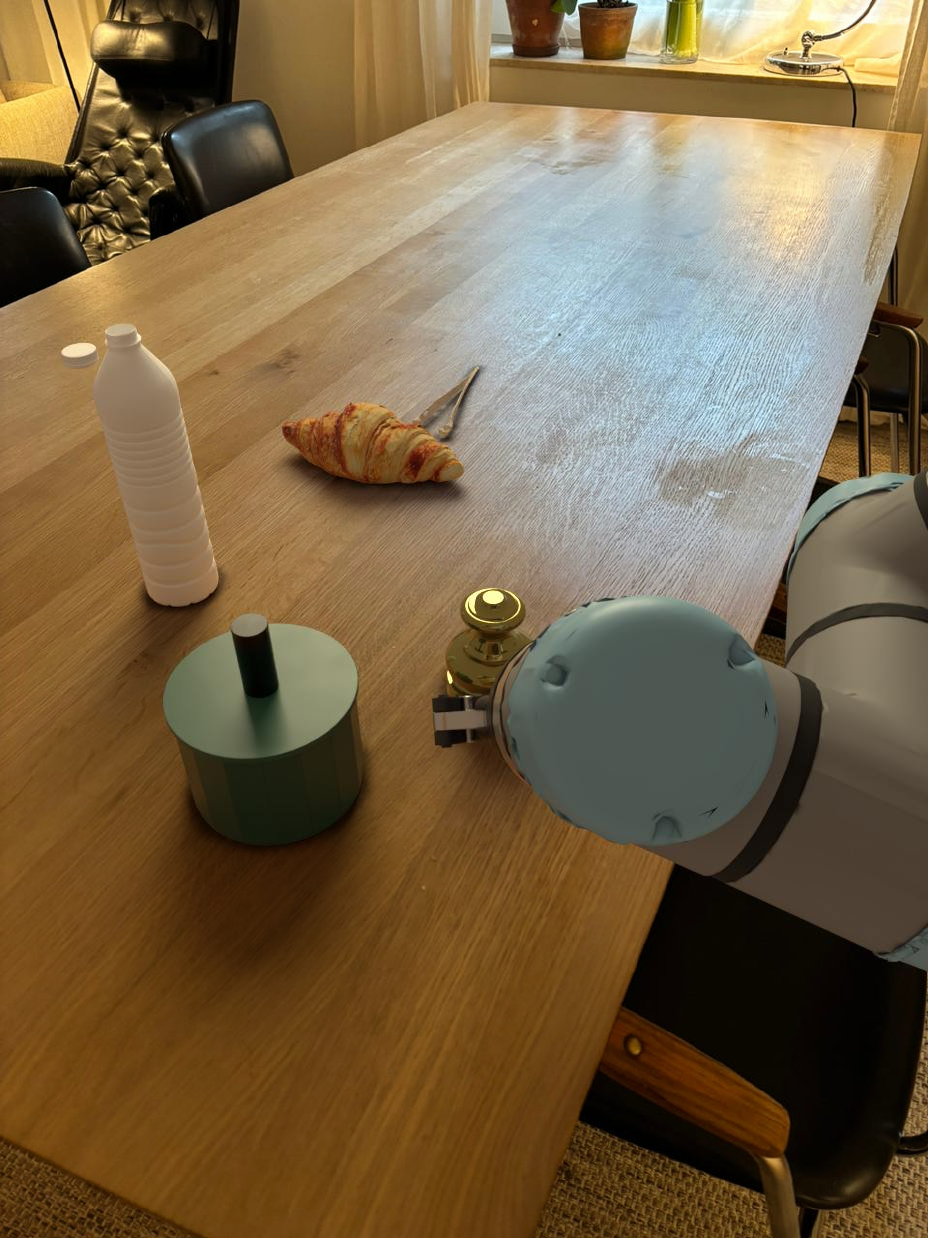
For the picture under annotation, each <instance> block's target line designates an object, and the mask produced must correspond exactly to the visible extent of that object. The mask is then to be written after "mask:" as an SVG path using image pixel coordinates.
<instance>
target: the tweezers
mask: <svg viewBox="0 0 928 1238" xmlns="http://www.w3.org/2000/svg"><path fill="white" fill-rule="evenodd" d="M479 369H480V366H476V367H475V368H474V369H472V371H471V372H470V373H469V374H468V375H467V376H466V377H465V378H463V379H462V380H461V381H459V382H458V383H457V384H456V385H454V386H453V387H452V388H450V389H449V390H448V391H446V392H445V393H444V394H442V395H441V396H439V397H438V398H436V399H435V400H433V401H432V402H431V403H430V404H429V405H428V406H426V408H425V409H424V410H422V412H420V414H419V415H417V416H416V417H415V418H414V419H413V420H412V424H422V425H423V424H424V423H425V422H426V421H427V420H428V419H429V418H431V417H433V415H434V414H436V412H437V411H438V410H439V409H441V408H442V407H443V406H444V405H445V404H447V403H448V402H450V401H451V400H452V399H454V398H455V397H456V396H457V395H458V394H459V397H458V399H457V401H456V404H455V405H454V407H453V409H452V411H451V413H450V417H449V421H448V423H446V424H444V426H443V427H439V428H437V431H438V433H439V434H438V435H439V438H441V439H444V438H446V436H448V434H449V433H450V432H451V431H452V429H453V427H454V423H453V422H454V419H455V416H456V413H457V410H458V408H459V406H460V404H461V401H462V399H463V397H464V394H465V393H466V391H467V388H468V387H469V385H470V383H472V380H473V378H474V377H475V375H476V373H477V372H478V370H479ZM426 412H427V413H426ZM425 413H426V414H425ZM424 414H425V415H424Z"/></svg>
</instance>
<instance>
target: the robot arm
mask: <svg viewBox="0 0 928 1238" xmlns="http://www.w3.org/2000/svg"><path fill="white" fill-rule="evenodd" d="M785 583H786V584H785V585H786V602H787V610H786V627H785V629H786V630H785V645H784V646H785V647H784V664H783V666H780V665H778V664H775V663H773V662H771V661H769V660H767V659H764V658H762V657H760V656H758V655H757V654H756V652H755V650H754V649H753V648H752V646H751V645H750V644H749V642H748V641H747V640H746V639H745V638H744V637H743V635H742V634H741V633H740V632H739V631H738V630H737V628H735V627H734V626H733V625H731V624H730V623H729V622H728V621H726V620H725V619H724V618H723V617H721V616H719V615H718V614H716V613H715V612H713V611H711V610H710V609H708V608H705V607H703V606H701V605H699V604H696V603H694V602H691V601H688V600H686V599H685V600H684V599H681V598H677V597H672V596H665V595H657V594H656V595H655V594H641V595H640V594H639V595H632V596H627V595H624V596H620V597H615V598H613V597H603V598H600V599H599V598H598V599H596V600H592V601H589V602H587V603H584V604H582V605H579V607H577V608H573V609H572V610H571V611H567V612H566V613H565V614H564V615H563V616H561V617H560V618H558V619H556V620H555V621H553V622H551V623H550V624H549V625H548V626H546V627H545V629H543V631H541V632H540V634H539V635H538V636H537V637H536V638H535V639H533V641H531V642H530V643H528V644H527V645H525V646H523V647H522V648H521V649H519V650H518V651H517V652H515V653H514V654H513V655H512V656H511V657H510V658H509V659H508V660H507V661H506V663H505V664H504V665H503V667H502V668H501V669H500V671H499V673H498V674H497V676H496V678H495V680H494V683H493V685H492V688H491V691H490V693H481V695H479V696H458V697H449V696H448V694H447V693H446V694H438V696H437V697H432V698H431V706H432V723H433V736H434V737H433V738H434V746H436V747H437V746H440V747H441V749H451V748H452V747H453V746H454V745H461V744H473V743H476V742H480V741H488V742H489V741H491V742H492V744H493V746H494V748H495V750H496V753H497V754H498V756H499V757H500V759H501V760H502V762H503V763H504V764H505V766H506V767H507V768H508V769H509V770H510V771H511V772H512V773H513V774H514V775H515V776H516V777H518V778H519V779H520V780H521V781H522V782H523V783H524V784H525V785H526V786H527V787H529V788H530V789H531V790H532V791H534V793H535V794H536V797H538V798H540V799H541V800H542V801H544V803H546V805H547V806H549V808H550V811H552V813H553V814H555V815H556V816H557V817H559V818H560V819H561V820H563V821H564V822H566V823H567V824H569V825H571V826H573V827H574V828H577V829H581V830H587V831H588V832H591V833H592V834H595V835H597V836H598V837H600V838H602V839H603V840H605V841H607V842H610V843H613V844H616V845H620V846H621V845H622V846H627V845H630V844H632V845H634V846H636V847H638V848H641V849H643V850H645V851H647V852H650V853H651V854H654V855H656V856H658V857H661V858H663V859H664V860H667V861H669V862H673V863H674V864H677V865H678V866H681V867H683V868H685V869H687V870H690V871H692V872H695V873H697V874H699V875H702V876H704V877H711V878H713V879H715V880H718V881H720V882H722V883H723V884H725V885H728V886H730V887H732V888H734V889H736V890H738V891H741V892H743V893H745V894H748V895H749V896H751V897H754V898H756V899H758V900H760V901H763V902H764V903H767V904H769V905H770V906H771V905H772V906H773V907H776V908H777V909H780V910H782V911H784V912H787V913H788V914H790V915H793V916H795V917H798V918H800V919H802V920H804V921H806V922H808V923H810V924H812V925H814V926H817V927H819V928H821V929H823V930H826V931H827V932H830V933H832V934H834V935H836V936H838V937H840V938H843V939H845V940H847V941H849V942H852V943H854V944H856V945H858V946H860V947H863V948H865V949H867V950H869V951H871V952H872V954H873V956H876V957H877V958H881V959H883V960H887V962H891V963H893V962H895V963H896V962H897V963H898V962H901V963H904V964H907V965H909V966H913V967H915V968H918V969H921V970H923V971H925V972H928V466H926V468H924V469H923V470H921V471H920V472H919V473H917V474H915V475H911V474H905V473H898V472H879V473H878V472H877V473H875V474H873V475H868V476H862V477H858V478H854V479H847V480H845V481H843V482H840V483H838V484H837V485H834V486H833V487H832V488H829V489H828V490H827V491H826V492H824V493H823V494H822V495H820V496H819V497H818V499H816V500H815V502H813V503H812V505H811V506H810V507H809V509H808V510H807V511H806V512H805V514H804V516H803V518H802V520H801V522H800V525H799V527H798V530H797V533H796V537H795V544H794V549H793V552H792V553H791V556H790V559H789V562H788V565H787V573H786V582H785Z"/></svg>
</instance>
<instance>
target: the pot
mask: <svg viewBox="0 0 928 1238" xmlns="http://www.w3.org/2000/svg"><path fill="white" fill-rule="evenodd" d="M357 699H358V698H357ZM357 699H356V702H355V704H354V707H353V709H352V711H351V713H350V714H349V716H348V717H347V718H346V720H345V721H344V722H343V723H342V725H341V726H340V727H339V728H338V729H337V730H336V731H335V732H333V733H332V734H331V735H330V736H329V737H327V738H326V739H325V740H323V741H322V742H320V743H319V744H317V745H315V746H313V747H311V748H310V749H308V750H306V751H303V752H301V753H298V754H296V755H293V756H290V757H287V758H284V759H280V760H275V761H271V762H264V763H255V764H237V763H226V762H221V761H216V760H213V759H210V758H206V757H203V756H201V755H199V754H197V753H195V752H193V751H191V750H190V749H188V748H187V747H185V746H184V745H183V744H182V743H181V742H180V741H178V740H177V739H176V743H177V746H178V749H179V752H180V756H181V760H182V763H183V766H184V769H185V773H186V777H187V781H188V783H189V787H190V791H191V794H192V797H193V801H194V805H195V807H196V809H197V810H198V812H199V813H200V815H201V817H202V818H203V820H204V821H205V823H206V824H207V825H209V827H211V828H212V829H213V830H214V831H216V832H217V833H219V835H221V836H223V837H225V838H227V839H229V840H232V841H234V842H235V841H236V842H238V843H240V844H241V843H242V844H246V845H251V846H260V847H272V846H281V845H287V844H292V843H298V842H299V841H304V840H306V839H309V838H311V837H314V836H315V835H317V834H319V833H321V832H323V831H324V830H326V829H328V828H330V827H331V826H332V825H334V824H335V823H336V822H338V820H340V819H341V818H342V817H343V816H344V815H345V814H347V811H348V810H349V809H350V808H351V807H352V806H353V804H354V802H355V800H356V799H357V797H358V795H359V792H360V790H361V787H362V783H363V779H364V778H363V777H364V767H365V761H364V752H363V744H362V735H361V734H362V733H361V726H360V716H359V708H358V701H357Z"/></svg>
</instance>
